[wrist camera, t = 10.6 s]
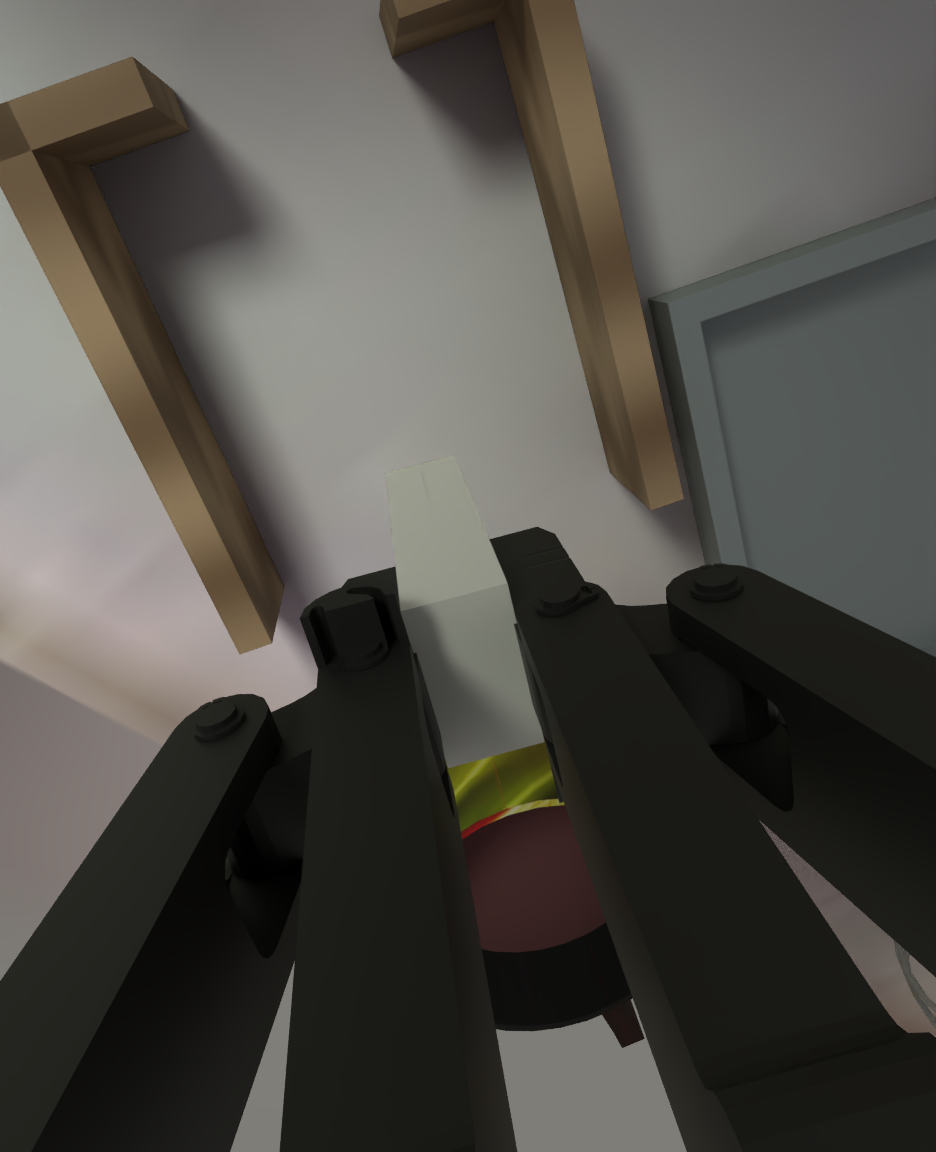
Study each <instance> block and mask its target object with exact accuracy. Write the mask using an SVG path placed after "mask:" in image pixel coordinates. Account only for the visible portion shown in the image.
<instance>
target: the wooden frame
mask: <svg viewBox="0 0 936 1152" xmlns="http://www.w3.org/2000/svg"><path fill="white" fill-rule="evenodd" d="M379 17H380V20H381V23H382V26H383V30H384V33H385V36H386V39H387V43H388V46H389V49H390V52H391V56H392V58H394V57H396V56H399V55H402V54H405V53H407V52H410V51H413V50H416V49H419V48H421V47H424V46H427V45H430V44H433V43H435V42H438V41H441V40H444V39H447V38H449V37H452V36H455V35H458V34H461V33H463V32H466V31H469V30H472V29H474V28H477V27H480V26H483V25H486V24H488V23H491V22H494V24H495V28H496V32H497V36H498V40H499V43H500V47H501V51H502V55H503V59H504V63H505V67H506V71H507V75H508V78H509V82H510V86H511V90H512V94H513V98H514V102H515V106H516V109H517V113H518V117H519V121H520V125H521V129H522V133H523V137H524V140H525V144H526V148H527V152H528V156H529V160H530V164H531V168H532V171H533V175H534V179H535V183H536V187H537V191H538V195H539V199H540V202H541V206H542V210H543V214H544V218H545V222H546V226H547V230H548V234H549V237H550V241H551V245H552V249H553V253H554V257H555V261H556V265H557V268H558V272H559V276H560V280H561V284H562V288H563V292H564V296H565V299H566V303H567V307H568V311H569V315H570V319H571V323H572V327H573V330H574V334H575V338H576V342H577V346H578V350H579V354H580V358H581V362H582V365H583V369H584V373H585V377H586V381H587V385H588V389H589V393H590V396H591V400H592V404H593V408H594V412H595V416H596V420H597V424H598V427H599V431H600V435H601V439H602V443H603V447H604V451H605V455H606V458H607V462H608V466H609V470H610V473H611V474H612V475H613V476H614V477H615V478H617V479H618V480H619V481H620V482H621V483H622V484H623V485H624V486H625V487H626V488H627V489H628V490H630V491H631V492H632V493H633V494H634V495H635V496H636V497H637V498H638V499H639V500H640V501H641V502H643V503H644V504H645V505H646V506H647V507H648V508H649V509H650V510H654V509H657V508H660V507H663V506H665V505H668V504H671V503H674V502H677V501H680V500H683V499H684V497H683V493H682V488H681V484H680V479H679V475H678V470H677V466H676V461H675V457H674V452H673V447H672V443H671V438H670V434H669V429H668V425H667V420H666V416H665V411H664V407H663V402H662V398H661V393H660V389H659V384H658V379H657V375H656V370H655V366H654V361H653V357H652V352H651V348H650V343H649V339H648V334H647V330H646V325H645V321H644V316H643V312H642V307H641V302H640V298H639V293H638V289H637V284H636V280H635V275H634V271H633V266H632V262H631V257H630V253H629V248H628V244H627V239H626V235H625V230H624V225H623V221H622V216H621V212H620V207H619V203H618V198H617V194H616V189H615V185H614V180H613V176H612V171H611V167H610V162H609V157H608V153H607V148H606V144H605V139H604V135H603V130H602V126H601V121H600V117H599V112H598V108H597V103H596V99H595V94H594V90H593V85H592V80H591V76H590V71H589V67H588V62H587V58H586V53H585V49H584V44H583V40H582V35H581V31H580V26H579V22H578V17H577V13H576V8H575V3H574V0H380V13H379ZM187 131H190V130H189V127H188V125H187V122H186V120H185V118H184V115H183V113H182V110H181V108H180V105H179V103H178V100H177V98H176V96H175V93H174V91H173V89H172V88H170V87H169V86H168V85H167V84H165V83H164V82H163V81H162V80H161V79H159V78H158V77H157V76H156V75H154V74H153V73H152V72H151V71H149V70H148V69H147V68H146V67H145V66H143V65H142V64H141V63H140V62H138V61H137V60H136V59H135V58H133V57H130V58H127V59H124V60H121V61H119V62H116V63H113V64H110V65H108V66H105V67H102V68H99V69H96V70H94V71H91V72H88V73H85V74H82V75H80V76H77V77H74V78H71V79H69V80H66V81H63V82H60V83H57V84H55V85H52V86H49V87H46V88H44V89H41V90H38V91H35V92H32V93H30V94H27V95H24V96H21V97H19V98H16V99H13V100H10V101H7V102H5V103H2V104H0V187H1V189H2V190H3V192H4V194H5V196H6V198H7V200H8V202H9V204H10V206H11V208H12V210H13V212H14V214H15V216H16V218H17V220H18V222H19V224H20V226H21V228H22V230H23V232H24V234H25V235H26V237H27V239H28V241H29V243H30V245H31V247H32V249H33V251H34V253H35V255H36V257H37V259H38V261H39V263H40V265H41V267H42V269H43V271H44V273H45V275H46V277H47V279H48V280H49V282H50V284H51V286H52V288H53V290H54V292H55V294H56V296H57V298H58V300H59V302H60V304H61V306H62V308H63V310H64V312H65V314H66V316H67V318H68V320H69V322H70V324H71V325H72V327H73V329H74V331H75V333H76V335H77V337H78V339H79V341H80V343H81V345H82V347H83V349H84V351H85V353H86V355H87V357H88V359H89V361H90V363H91V365H92V367H93V369H94V370H95V372H96V374H97V376H98V378H99V380H100V382H101V384H102V386H103V388H104V390H105V392H106V394H107V396H108V398H109V400H110V402H111V404H112V406H113V408H114V410H115V412H116V414H117V415H118V417H119V419H120V421H121V423H122V425H123V427H124V429H125V431H126V433H127V435H128V437H129V439H130V441H131V443H132V445H133V447H134V449H135V451H136V453H137V455H138V457H139V459H140V460H141V462H142V464H143V466H144V468H145V470H146V472H147V474H148V476H149V478H150V480H151V482H152V484H153V486H154V488H155V490H156V492H157V494H158V496H159V498H160V500H161V502H162V504H163V505H164V507H165V509H166V511H167V513H168V515H169V517H170V519H171V521H172V523H173V525H174V527H175V529H176V531H177V533H178V535H179V537H180V539H181V541H182V543H183V545H184V547H185V549H186V550H187V552H188V554H189V556H190V558H191V560H192V562H193V564H194V566H195V568H196V570H197V572H198V574H199V576H200V578H201V580H202V582H203V584H204V586H205V588H206V590H207V592H208V594H209V595H210V597H211V599H212V601H213V603H214V605H215V607H216V609H217V611H218V613H219V615H220V617H221V619H222V621H223V623H224V625H225V627H226V629H227V631H228V633H229V635H230V637H231V639H232V640H233V642H234V644H235V646H236V648H237V650H238V652H239V654H243V653H246V652H248V651H251V650H254V649H257V648H260V647H263V646H266V645H268V644H271V643H272V641H273V636H274V632H275V627H276V623H277V618H278V614H279V609H280V605H281V600H282V596H283V591H284V585H283V583H282V580H281V578H280V576H279V574H278V572H277V570H276V568H275V565H274V563H273V561H272V559H271V557H270V555H269V553H268V550H267V548H266V546H265V544H264V542H263V540H262V537H261V535H260V533H259V531H258V529H257V527H256V525H255V522H254V520H253V518H252V516H251V514H250V512H249V509H248V507H247V505H246V503H245V501H244V499H243V497H242V494H241V492H240V490H239V488H238V486H237V484H236V482H235V479H234V477H233V475H232V473H231V471H230V469H229V466H228V464H227V462H226V460H225V458H224V456H223V454H222V451H221V449H220V447H219V445H218V443H217V441H216V439H215V436H214V434H213V432H212V430H211V428H210V426H209V423H208V421H207V419H206V417H205V415H204V413H203V411H202V408H201V406H200V404H199V402H198V400H197V398H196V395H195V393H194V391H193V389H192V387H191V385H190V383H189V380H188V378H187V376H186V374H185V372H184V370H183V368H182V365H181V363H180V361H179V359H178V357H177V355H176V352H175V350H174V348H173V346H172V344H171V342H170V340H169V337H168V335H167V333H166V331H165V329H164V327H163V324H162V322H161V320H160V318H159V316H158V314H157V312H156V309H155V307H154V305H153V303H152V301H151V299H150V297H149V294H148V292H147V290H146V288H145V286H144V284H143V281H142V279H141V277H140V275H139V273H138V271H137V269H136V266H135V264H134V262H133V260H132V258H131V256H130V253H129V251H128V249H127V247H126V245H125V243H124V241H123V238H122V236H121V234H120V232H119V230H118V228H117V226H116V223H115V221H114V219H113V217H112V215H111V213H110V210H109V208H108V206H107V204H106V202H105V200H104V198H103V195H102V193H101V191H100V189H99V187H98V185H97V182H96V180H95V178H94V176H93V174H92V172H91V170H90V167H89V166H92V165H95V164H98V163H100V162H103V161H106V160H109V159H112V158H114V157H117V156H120V155H123V154H125V153H128V152H131V151H134V150H137V149H139V148H142V147H145V146H148V145H151V144H153V143H156V142H159V141H162V140H165V139H167V138H170V137H173V136H176V135H179V134H181V133H184V132H187Z"/></svg>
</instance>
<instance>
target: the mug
mask: <svg viewBox="0 0 936 1152" xmlns="http://www.w3.org/2000/svg"><path fill="white" fill-rule="evenodd" d="M542 733H543V732H542ZM543 738H544V735H543ZM444 757H445V756H444ZM445 762H446V760H445ZM446 766H447V763H446ZM447 769H448V772H449V776H450V779H451V782H452V786H453V789H454V794H455V800H456V806H457V811H458V817H459V823H460V829H461V834H462V840H463V846H464V851H465V857H466V863H467V868H468V874H469V880H470V885H471V891H472V897H473V903H474V908H475V914H476V920H477V925H478V931H479V937H480V942H481V948H482V954H483V959H484V965H485V971H486V977H487V982H488V988H489V994H490V999H491V1005H492V1011H493V1016H494V1022H495V1028H496V1029H499V1030H505V1031H538V1030H546V1029H554V1028H561V1027H565V1026H569V1025H573V1024H576V1023H580V1022H584V1021H587V1020H589V1019H592V1018H595V1017H597V1016H599V1015H603V1017H604V1018H605V1020H606V1021H607V1023H608V1024H609V1026H610V1028H611V1029H612V1031H613V1032H614V1034H615V1036H616V1038H617V1039H618V1041H619V1043H620V1045H621V1047H622V1048H623V1047H626V1046H628V1045H630V1044H633V1043H635V1042H638V1041H640V1040H643V1039H644V1036H643V1033H642V1030H641V1028H640V1025H639V1022H638V1019H637V1016H636V1013H635V1010H634V1008H633V1005H632V1002H631V999H632V998H633V997H632V994H631V991H630V989H629V986H628V983H627V980H626V977H625V974H624V972H623V969H622V966H621V963H620V960H619V957H618V955H617V952H616V949H615V946H614V943H613V940H612V938H611V935H610V932H609V929H608V926H607V923H606V921H605V918H604V915H603V912H602V909H601V906H600V904H599V901H598V898H597V895H596V892H595V889H594V886H593V884H592V881H591V878H590V875H589V872H588V869H587V867H586V864H585V861H584V858H583V855H582V852H581V850H580V847H579V844H578V841H577V838H576V835H575V833H574V830H573V827H572V824H571V821H570V818H569V816H568V813H567V810H566V807H565V804H564V802H561V803H559V800H558V796H557V791H556V787H555V783H554V778H553V774H552V770H551V766H550V761H549V757H548V753H547V748H546V744H545V740H544V742H543V743H539V744H536V745H532V746H528V747H525V748H521V749H517V750H514V751H510V752H506V753H502V754H499V755H495V756H491V757H488V758H484V759H480V760H477V761H473V762H469V763H466V764H462V765H458V766H455V767H451V768H448V766H447Z"/></svg>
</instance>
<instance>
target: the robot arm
mask: <svg viewBox="0 0 936 1152" xmlns="http://www.w3.org/2000/svg"><path fill="white" fill-rule="evenodd" d="M385 478H386V487H387V495H388V504H389V513H390V522H391V531H392V540H393V548H394V557H395V566H396V567H392V568H388V569H385V570H381V571H377V572H373V573H370V574H366V575H362V576H358V577H354V578H351V579H348V580H347V581H346V582H345V584H344V585H343V586H342V588H339V589H337V590H334V591H331V592H329V593H327V594H325V595H323V596H321V597H320V598H318V599H316V600H314V601H313V602H312V603H311V604H310V605H309V606H308V607H306V608H305V609H304V611H303V613H302V615H301V617H300V620H301V623H302V626H303V629H304V631H305V634H306V637H307V640H308V642H309V645H310V648H311V651H312V653H313V656H314V659H315V662H316V664H317V667H318V678H317V688H316V689H314V690H313V691H311V692H310V693H309V694H307V695H306V696H304V697H302V698H300V699H299V700H297V701H295V702H293V703H291V704H289V705H287V706H284V707H282V708H280V709H278V710H276V711H274V712H271V711H270V709H269V706H268V705H267V703H266V701H265V699H264V698H262V697H259V696H257V695H254V694H237V695H233V696H229V697H221V698H218V699H215V700H212V701H213V702H208V703H206V704H204V705H202V706H201V707H200V708H199V709H198V710H196V711H195V712H193V713H192V714H190V715H189V716H187V717H186V718H185V719H184V720H183V721H182V722H181V723H180V724H179V725H178V726H177V727H176V728H175V729H174V731H173V732H172V734H171V735H170V737H169V738H168V739H167V741H166V742H165V744H164V745H163V747H162V748H161V750H160V751H159V753H158V754H157V755H156V757H155V758H154V760H153V761H152V763H151V764H150V765H149V767H148V768H147V770H146V771H145V773H144V774H143V776H142V777H141V778H140V780H139V782H138V783H137V784H136V786H135V787H134V789H133V790H132V792H131V793H130V794H129V796H128V797H127V799H126V800H125V802H124V803H123V805H122V806H121V807H120V809H119V810H118V812H117V813H116V815H115V816H114V818H113V819H112V821H111V822H110V823H109V825H108V826H107V828H106V829H105V831H104V832H103V834H102V835H101V836H100V838H99V839H98V841H97V842H96V844H95V845H94V846H93V848H92V850H91V851H90V852H89V854H88V855H87V857H86V858H85V859H84V861H83V862H82V864H81V865H80V867H79V868H78V870H77V871H76V872H75V874H74V875H73V877H72V878H71V880H70V881H69V883H68V884H67V886H66V887H65V889H64V890H63V891H62V893H61V894H60V896H59V897H58V899H57V900H56V901H55V903H54V904H53V906H52V907H51V909H50V910H49V912H48V913H47V914H46V916H45V917H44V919H43V920H42V922H41V923H40V925H39V926H38V927H37V929H36V930H35V932H34V933H33V935H32V936H31V938H30V939H29V940H28V942H27V943H26V945H25V946H24V948H23V949H22V951H21V952H20V953H19V955H18V956H17V958H16V959H15V961H14V962H13V964H12V965H11V967H10V968H9V969H8V971H7V972H6V974H5V975H4V977H3V978H2V979H1V981H0V1152H230V1150H231V1147H232V1144H233V1141H234V1138H235V1135H236V1132H237V1129H238V1126H239V1123H240V1121H241V1118H242V1115H243V1112H244V1109H245V1106H246V1103H247V1100H248V1097H249V1094H250V1091H251V1088H252V1085H253V1082H254V1079H255V1076H256V1073H257V1070H258V1067H259V1064H260V1061H261V1058H262V1055H263V1052H264V1050H265V1046H266V1043H267V1041H268V1038H269V1034H270V1032H271V1029H272V1026H273V1023H274V1020H275V1016H276V1014H277V1011H278V1008H279V1005H280V1002H281V999H282V996H283V993H284V990H285V987H286V984H287V981H288V978H289V976H290V972H291V970H292V966H293V964H294V961H295V966H294V979H293V992H292V1005H291V1017H290V1029H289V1041H288V1055H287V1066H286V1079H285V1091H284V1092H285V1093H284V1104H283V1116H282V1117H283V1118H282V1129H281V1141H280V1152H517V1147H516V1142H515V1136H514V1130H513V1125H512V1119H511V1113H510V1108H509V1102H508V1096H507V1090H506V1085H505V1079H504V1074H503V1068H502V1062H501V1056H500V1051H499V1045H498V1039H497V1034H496V1028H495V1022H494V1016H493V1011H492V1005H491V999H490V994H489V988H488V982H487V977H486V971H485V965H484V959H483V954H482V948H481V942H480V937H479V931H478V925H477V920H476V914H475V908H474V903H473V897H472V891H471V885H470V880H469V874H468V868H467V863H466V857H465V851H464V846H463V840H462V834H461V829H460V823H459V817H458V811H457V806H456V800H455V794H454V789H453V786H452V782H451V779H450V776H449V772H448V769H447V766H448V768H451V767H455V766H458V765H462V764H466V763H469V762H473V761H477V760H480V759H484V758H488V757H491V756H495V755H499V754H502V753H506V752H510V751H514V750H517V749H521V748H525V747H528V746H532V745H536V744H539V743H543V742H544V740H545V744H546V748H547V753H548V757H549V761H550V766H551V770H552V774H553V778H554V783H555V787H556V791H557V796H558V800H559V803H561V802H564V804H565V807H566V810H567V813H568V816H569V818H570V821H571V824H572V827H573V830H574V833H575V835H576V838H577V841H578V844H579V847H580V850H581V852H582V855H583V858H584V861H585V864H586V867H587V869H588V872H589V875H590V878H591V881H592V884H593V886H594V889H595V892H596V895H597V898H598V901H599V904H600V906H601V909H602V912H603V915H604V918H605V921H606V923H607V926H608V929H609V932H610V935H611V938H612V940H613V943H614V946H615V949H616V952H617V955H618V957H619V960H620V963H621V966H622V969H623V972H624V974H625V977H626V980H627V983H628V986H629V989H630V991H631V994H632V997H633V1000H634V1003H635V1005H636V1008H637V1011H638V1014H639V1017H640V1020H641V1023H642V1025H643V1028H644V1031H645V1034H646V1037H647V1040H648V1042H649V1045H650V1048H651V1051H652V1054H653V1057H654V1060H655V1062H656V1065H657V1068H658V1071H659V1074H660V1077H661V1079H662V1082H663V1085H664V1088H665V1091H666V1094H667V1096H668V1099H669V1102H670V1105H671V1108H672V1111H673V1113H674V1116H675V1119H676V1122H677V1125H678V1128H679V1131H680V1133H681V1136H682V1139H683V1142H684V1144H685V1148H686V1150H687V1152H936V1037H934V1036H933V1035H932V1034H930V1033H929V1032H925V1033H907V1032H906V1031H905V1030H903V1029H902V1028H901V1027H900V1026H898V1025H897V1024H896V1023H895V1021H894V1020H893V1019H892V1017H891V1016H890V1015H889V1014H888V1012H887V1011H886V1010H885V1008H884V1007H883V1005H882V1004H881V1002H880V1001H879V999H878V998H877V996H876V995H875V993H874V992H873V990H872V989H871V987H870V986H869V984H868V983H867V981H866V980H865V978H864V977H863V975H862V974H861V972H860V971H859V969H858V968H857V966H856V965H855V963H854V962H853V960H852V959H851V957H850V956H849V954H848V953H847V951H846V950H845V948H844V947H843V945H842V944H841V942H840V941H839V939H838V938H837V936H836V935H835V933H834V932H833V930H832V929H831V927H830V926H829V924H828V923H827V921H826V920H825V918H824V917H823V915H822V914H821V912H820V911H819V909H818V908H817V906H816V905H815V903H814V902H813V901H812V899H811V898H810V896H809V895H808V893H807V892H806V890H805V889H804V887H803V886H802V884H801V883H800V881H799V880H798V878H797V877H796V875H795V874H794V872H793V871H792V869H791V868H790V866H789V865H788V863H787V862H786V860H785V859H784V857H783V856H782V854H781V853H780V851H779V850H778V848H777V847H776V845H775V844H774V842H773V841H772V839H771V838H770V836H769V835H768V833H767V832H766V830H765V829H764V827H763V826H762V824H761V823H760V821H761V822H762V823H764V824H765V825H766V826H767V827H768V828H769V829H770V830H771V831H772V832H774V833H775V834H776V835H777V836H778V837H779V838H780V839H781V840H783V841H784V842H785V843H786V844H787V845H788V846H789V847H790V848H792V849H793V850H794V851H795V852H796V853H797V854H798V855H799V856H801V857H802V858H803V859H804V860H805V861H806V862H807V863H808V864H809V865H811V866H812V867H813V868H814V869H815V870H816V871H817V872H818V873H820V874H821V875H822V876H823V877H824V878H825V879H826V880H827V881H829V882H830V883H831V884H832V885H833V886H834V887H835V888H836V889H837V890H839V891H840V892H841V893H842V894H843V895H844V896H845V897H846V898H848V899H849V900H850V901H851V902H852V903H853V904H854V905H855V906H857V907H858V908H859V909H860V910H861V911H862V912H863V913H864V914H866V915H867V916H868V917H869V918H870V919H871V920H872V921H873V922H874V923H876V924H877V925H878V926H879V927H880V928H881V929H882V930H883V931H885V932H886V933H887V934H888V935H889V936H890V937H891V938H892V939H894V940H895V941H896V942H897V943H898V944H899V945H900V946H901V947H902V948H904V949H905V950H906V951H907V952H908V953H909V954H910V955H911V956H913V957H914V958H915V959H916V960H917V961H918V962H919V963H920V964H922V965H923V966H924V967H925V968H926V969H927V970H928V971H929V972H930V973H932V974H933V975H934V976H935V977H936V657H934V656H932V655H930V654H928V653H926V652H924V651H922V650H920V649H918V648H916V647H914V646H912V645H910V644H908V643H906V642H904V641H902V640H899V639H897V638H895V637H893V636H891V635H889V634H887V633H885V632H883V631H881V630H879V629H877V628H875V627H873V626H871V625H869V624H867V623H864V622H862V621H860V620H858V619H856V618H854V617H852V616H850V615H848V614H846V613H844V612H842V611H840V610H838V609H836V608H834V607H832V606H829V605H827V604H825V603H823V602H821V601H819V600H817V599H815V598H813V597H811V596H809V595H807V594H805V593H803V592H801V591H799V590H797V589H795V588H792V587H790V586H788V585H786V584H784V583H782V582H780V581H778V580H776V579H774V578H772V577H770V576H768V575H766V574H764V573H762V572H760V571H757V570H754V569H751V568H748V567H745V566H740V565H727V564H724V563H720V564H714V565H711V564H709V565H704V566H700V567H699V568H696V569H693V570H689V571H686V572H685V573H683V574H681V575H679V576H677V577H676V578H674V579H673V580H672V581H671V582H670V584H669V585H668V586H667V587H666V599H667V604H657V605H646V606H624V605H616V604H614V602H613V601H612V599H611V598H610V596H609V595H608V593H607V592H606V591H605V590H604V589H603V588H601V587H600V586H599V585H597V584H593V583H589V582H585V581H584V579H583V577H582V576H581V574H580V573H579V571H578V570H577V568H576V566H575V565H574V563H573V562H572V560H571V559H570V558H569V556H568V554H567V552H566V551H565V549H564V548H563V546H562V544H561V543H560V541H559V540H558V538H557V537H556V535H555V534H554V533H551V532H549V531H546V530H544V529H541V528H539V527H535V528H531V529H527V530H523V531H520V532H516V533H512V534H508V535H504V536H501V537H497V538H493V539H489V538H488V535H487V533H486V530H485V528H484V526H483V523H482V521H481V518H480V516H479V514H478V511H477V509H476V506H475V504H474V502H473V499H472V497H471V495H470V492H469V490H468V487H467V485H466V483H465V480H464V478H463V475H462V473H461V471H460V468H459V466H458V463H457V461H456V459H455V456H454V455H452V456H449V457H445V458H441V459H437V460H433V461H430V462H426V463H422V464H418V465H414V466H410V467H407V468H403V469H399V470H395V471H391V472H388V473H385ZM542 732H543V733H542ZM543 735H544V738H543ZM444 756H445V757H444ZM445 760H446V762H445ZM446 763H447V766H446ZM758 819H759V820H760V821H759V820H758Z"/></svg>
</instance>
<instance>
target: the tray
mask: <svg viewBox="0 0 936 1152" xmlns="http://www.w3.org/2000/svg"><path fill="white" fill-rule="evenodd" d="M648 301H649V306H650V310H651V315H652V319H653V324H654V329H655V333H656V338H657V343H658V347H659V352H660V356H661V361H662V366H663V370H664V375H665V379H666V384H667V389H668V393H669V398H670V403H671V407H672V412H673V416H674V421H675V426H676V430H677V435H678V439H679V444H680V449H681V453H682V458H683V463H684V467H685V472H686V476H687V481H688V486H689V490H690V495H691V500H692V504H693V509H694V513H695V518H696V523H697V527H698V532H699V536H700V541H701V546H702V550H703V555H704V560H705V564H706V565H709V564H711V565H714V564H720V563H724V564H727V565H740V566H745V567H748V568H751V569H754V570H757V571H760V572H762V573H764V574H766V575H768V576H770V577H772V578H774V579H776V580H778V581H780V582H782V583H784V584H786V585H788V586H790V587H792V588H795V589H797V590H799V591H801V592H803V593H805V594H807V595H809V596H811V597H813V598H815V599H817V600H819V601H821V602H823V603H825V604H827V605H829V606H832V607H834V608H836V609H838V610H840V611H842V612H844V613H846V614H848V615H850V616H852V617H854V618H856V619H858V620H860V621H862V622H864V623H867V624H869V625H871V626H873V627H875V628H877V629H879V630H881V631H883V632H885V633H887V634H889V635H891V636H893V637H895V638H897V639H899V640H902V641H904V642H906V643H908V644H910V645H912V646H914V647H916V648H918V649H920V650H922V651H924V652H926V653H928V654H930V655H932V656H934V657H936V198H933V199H931V200H928V201H925V202H922V203H919V204H916V205H914V206H911V207H908V208H905V209H902V210H899V211H897V212H894V213H891V214H888V215H885V216H882V217H880V218H877V219H874V220H871V221H868V222H865V223H863V224H860V225H857V226H854V227H851V228H848V229H846V230H843V231H840V232H837V233H834V234H831V235H829V236H826V237H823V238H820V239H817V240H814V241H812V242H809V243H806V244H803V245H800V246H797V247H795V248H792V249H789V250H786V251H783V252H780V253H778V254H775V255H772V256H769V257H766V258H763V259H761V260H758V261H755V262H752V263H749V264H746V265H744V266H741V267H738V268H735V269H732V270H730V271H727V272H724V273H721V274H718V275H715V276H713V277H710V278H707V279H704V280H701V281H698V282H696V283H693V284H690V285H687V286H684V287H681V288H679V289H676V290H673V291H670V292H667V293H664V294H662V295H659V296H656V297H653V298H650V299H648Z"/></svg>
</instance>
